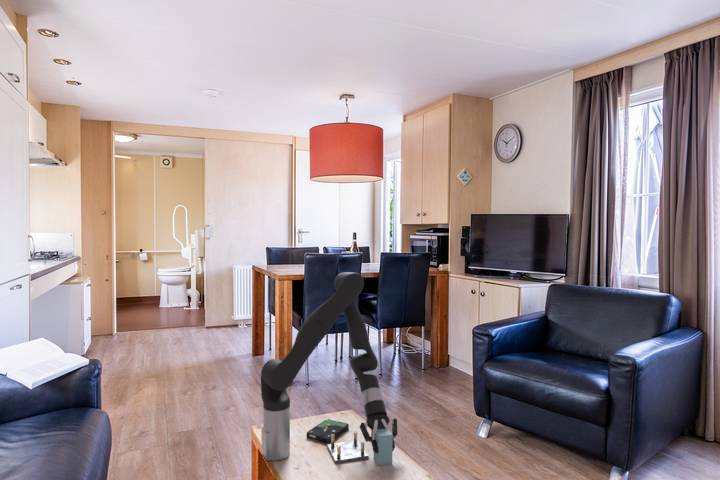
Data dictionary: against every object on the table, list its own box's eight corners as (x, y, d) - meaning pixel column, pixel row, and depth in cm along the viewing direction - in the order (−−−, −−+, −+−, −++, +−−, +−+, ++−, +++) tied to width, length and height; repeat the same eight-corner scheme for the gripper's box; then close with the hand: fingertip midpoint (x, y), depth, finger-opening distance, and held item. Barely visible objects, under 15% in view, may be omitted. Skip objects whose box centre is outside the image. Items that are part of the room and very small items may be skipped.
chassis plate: (335, 463, 155) (335, 449, 155) (327, 447, 167) (327, 433, 166) (368, 458, 159) (368, 444, 159) (358, 442, 170) (358, 429, 170)
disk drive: (328, 446, 169) (349, 430, 182) (328, 438, 169) (349, 423, 182) (306, 439, 174) (327, 424, 187) (306, 432, 174) (327, 417, 187)
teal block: (378, 465, 154) (378, 436, 154) (373, 458, 159) (373, 430, 159) (392, 463, 156) (392, 434, 155) (387, 456, 160) (387, 428, 160)
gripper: (357, 401, 162) (367, 450, 151) (394, 396, 166) (407, 444, 155) (352, 410, 167) (362, 458, 156) (389, 405, 171) (401, 452, 160)
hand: (384, 451), depth 155 cm, fingers closed on teal block, 5 cm apart
